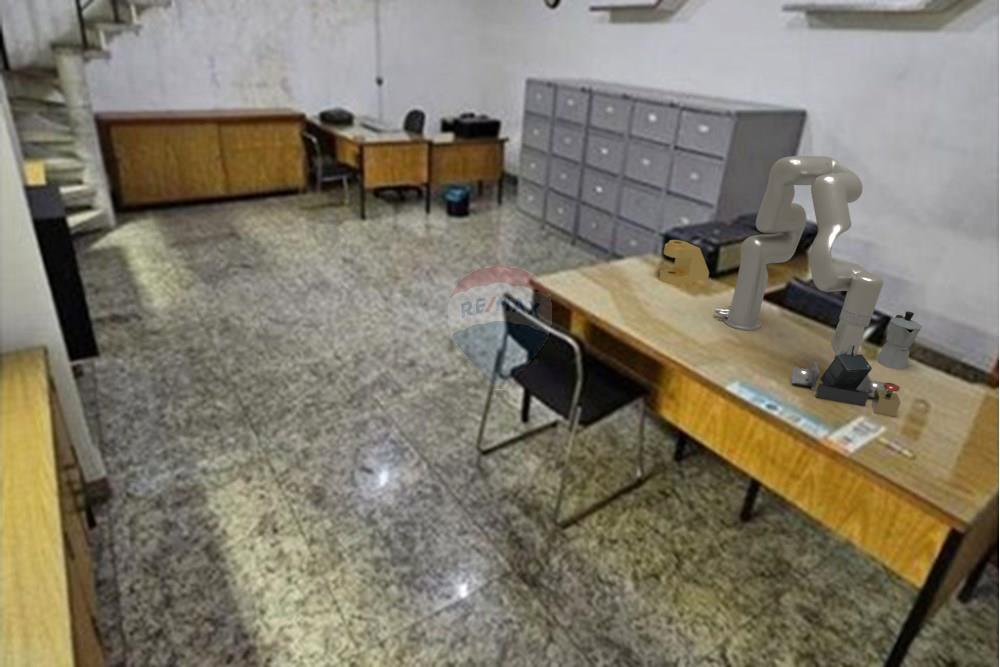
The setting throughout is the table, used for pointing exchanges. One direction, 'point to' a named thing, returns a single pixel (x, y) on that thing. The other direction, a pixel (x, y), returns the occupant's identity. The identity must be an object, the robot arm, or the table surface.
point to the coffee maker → (899, 341)
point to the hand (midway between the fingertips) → (836, 374)
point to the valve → (886, 400)
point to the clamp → (684, 263)
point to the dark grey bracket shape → (836, 387)
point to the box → (847, 371)
